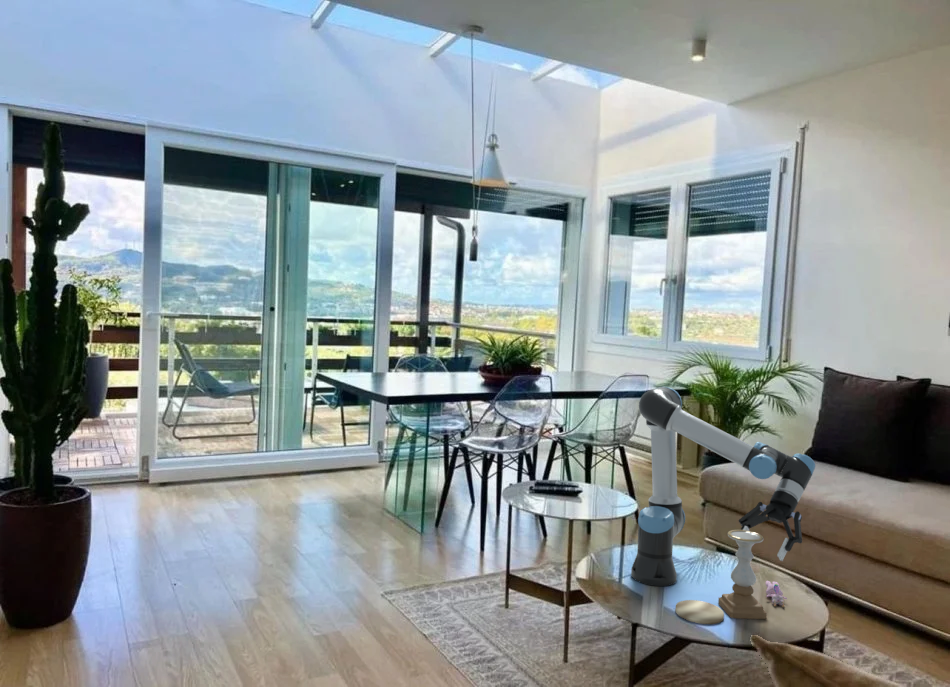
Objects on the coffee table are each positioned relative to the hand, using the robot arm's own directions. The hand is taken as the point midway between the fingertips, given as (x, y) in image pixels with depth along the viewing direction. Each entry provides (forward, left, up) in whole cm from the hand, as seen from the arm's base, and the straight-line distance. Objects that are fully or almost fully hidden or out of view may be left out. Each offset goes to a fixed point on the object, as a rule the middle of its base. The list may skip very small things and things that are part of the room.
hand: (758, 551), depth 210 cm
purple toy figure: (+1, +12, -18) cm, 22 cm away
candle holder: (-2, -5, -18) cm, 19 cm away
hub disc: (-10, -17, -18) cm, 27 cm away
